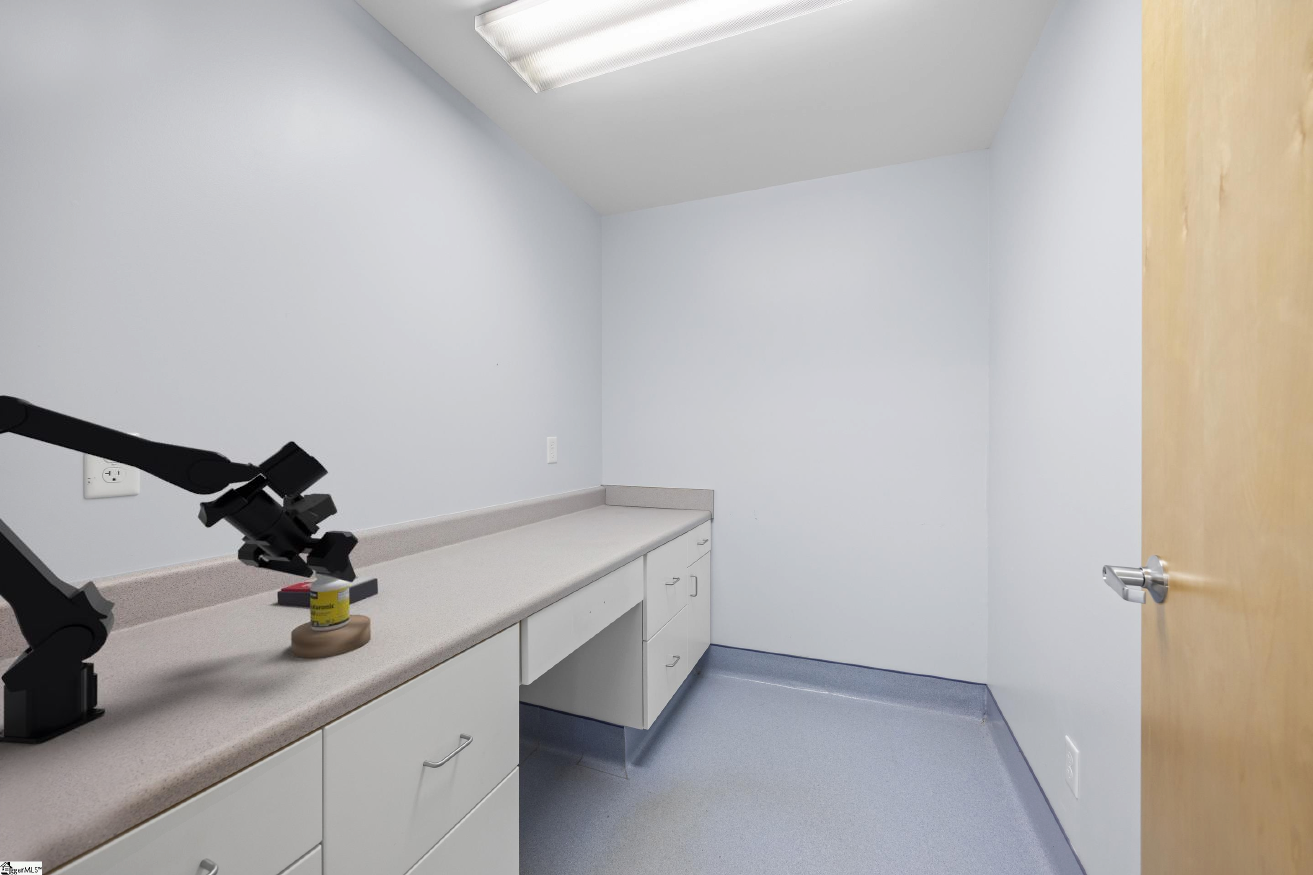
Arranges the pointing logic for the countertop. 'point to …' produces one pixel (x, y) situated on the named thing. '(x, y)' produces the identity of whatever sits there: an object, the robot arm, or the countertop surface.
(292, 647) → the pedestal
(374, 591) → the red and grey box
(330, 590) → the supplement bottle
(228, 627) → the countertop surface
